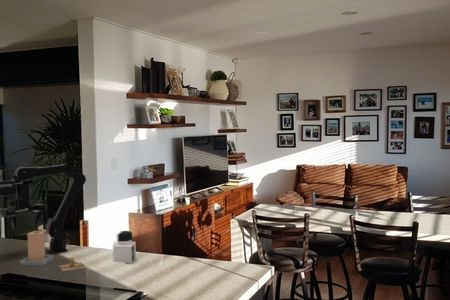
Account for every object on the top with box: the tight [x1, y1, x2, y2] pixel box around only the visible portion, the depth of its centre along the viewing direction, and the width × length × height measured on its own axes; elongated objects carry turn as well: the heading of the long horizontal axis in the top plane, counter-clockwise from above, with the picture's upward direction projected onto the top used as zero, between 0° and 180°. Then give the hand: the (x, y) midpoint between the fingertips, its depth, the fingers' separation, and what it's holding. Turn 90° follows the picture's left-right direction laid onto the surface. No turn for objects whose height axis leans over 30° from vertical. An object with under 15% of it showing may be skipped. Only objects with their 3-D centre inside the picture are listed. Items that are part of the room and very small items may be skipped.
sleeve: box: [27, 230, 46, 261], centre depth 194 cm, size 5×5×13 cm
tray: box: [19, 254, 55, 266], centre depth 194 cm, size 10×10×2 cm
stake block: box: [58, 257, 86, 272], centre depth 186 cm, size 9×9×4 cm
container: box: [112, 230, 137, 265], centre depth 195 cm, size 8×8×13 cm
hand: (24, 228), depth 206 cm, fingers open, 9 cm apart
